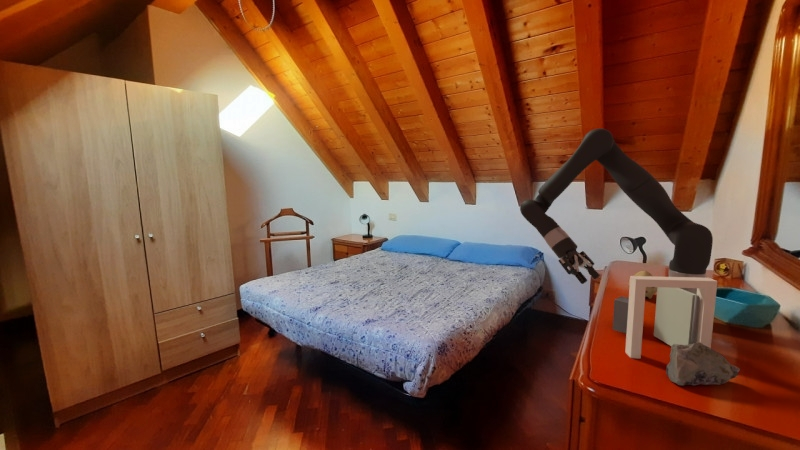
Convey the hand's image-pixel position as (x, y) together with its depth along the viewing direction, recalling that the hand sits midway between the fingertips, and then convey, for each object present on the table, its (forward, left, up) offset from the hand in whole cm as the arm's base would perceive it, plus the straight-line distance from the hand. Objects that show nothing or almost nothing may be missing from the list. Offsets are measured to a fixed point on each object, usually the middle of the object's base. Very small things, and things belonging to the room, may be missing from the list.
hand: (591, 280), depth 112 cm
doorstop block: (-7, +8, -14) cm, 17 cm away
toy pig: (-28, -25, -14) cm, 40 cm away
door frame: (-10, +24, -14) cm, 30 cm away
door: (-16, +18, -13) cm, 28 cm away
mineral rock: (-12, +35, -14) cm, 40 cm away
